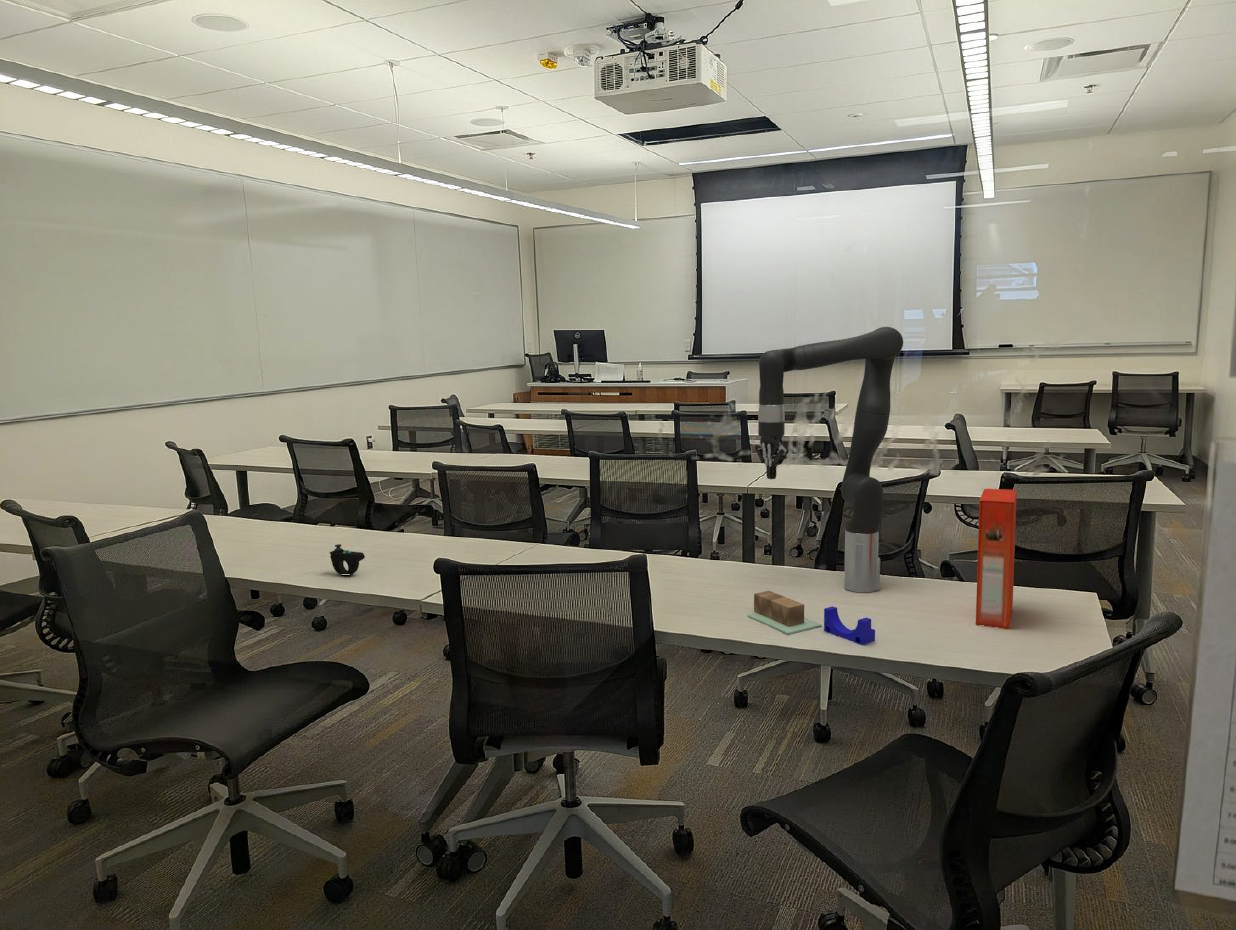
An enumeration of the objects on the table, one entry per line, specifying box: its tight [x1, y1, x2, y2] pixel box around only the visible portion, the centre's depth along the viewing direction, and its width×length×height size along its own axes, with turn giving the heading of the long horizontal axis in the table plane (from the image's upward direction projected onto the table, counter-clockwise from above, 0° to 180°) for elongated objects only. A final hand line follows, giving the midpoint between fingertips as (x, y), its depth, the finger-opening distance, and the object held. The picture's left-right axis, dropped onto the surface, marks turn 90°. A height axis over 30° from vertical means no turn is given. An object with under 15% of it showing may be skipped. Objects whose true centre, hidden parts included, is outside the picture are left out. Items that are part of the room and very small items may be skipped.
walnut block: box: [753, 590, 805, 627], centre depth 209 cm, size 5×5×14 cm
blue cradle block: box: [823, 605, 876, 646], centre depth 196 cm, size 12×4×6 cm, turn 33°
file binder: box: [975, 488, 1018, 630], centre depth 205 cm, size 8×17×32 cm, turn 152°
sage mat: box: [747, 612, 823, 636], centre depth 208 cm, size 16×11×1 cm
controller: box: [329, 543, 366, 575], centre depth 261 cm, size 4×12×10 cm, turn 67°
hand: (771, 478), depth 236 cm, fingers closed
